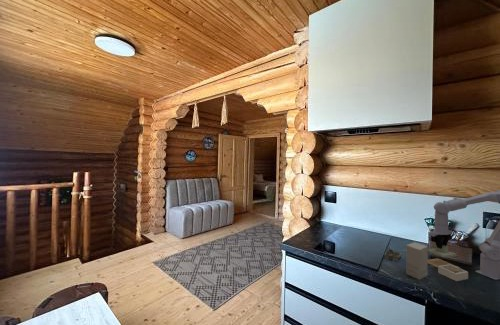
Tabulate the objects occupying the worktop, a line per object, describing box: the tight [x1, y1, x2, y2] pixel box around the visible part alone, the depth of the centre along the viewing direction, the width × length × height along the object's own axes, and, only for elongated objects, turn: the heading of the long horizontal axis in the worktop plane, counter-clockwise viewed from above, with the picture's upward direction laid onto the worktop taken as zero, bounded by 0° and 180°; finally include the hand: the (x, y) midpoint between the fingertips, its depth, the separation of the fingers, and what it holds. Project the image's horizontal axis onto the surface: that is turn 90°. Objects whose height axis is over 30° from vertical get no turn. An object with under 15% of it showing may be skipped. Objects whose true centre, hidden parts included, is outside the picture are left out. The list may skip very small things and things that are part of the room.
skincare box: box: [405, 241, 429, 280], centre depth 108 cm, size 8×7×16 cm
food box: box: [437, 263, 469, 282], centre depth 108 cm, size 8×8×4 cm
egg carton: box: [384, 247, 402, 262], centre depth 128 cm, size 11×8×4 cm
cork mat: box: [428, 257, 461, 269], centre depth 119 cm, size 11×11×1 cm
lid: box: [428, 243, 457, 258], centre depth 119 cm, size 9×9×5 cm
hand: (441, 247), depth 119 cm, fingers closed on lid, 2 cm apart
